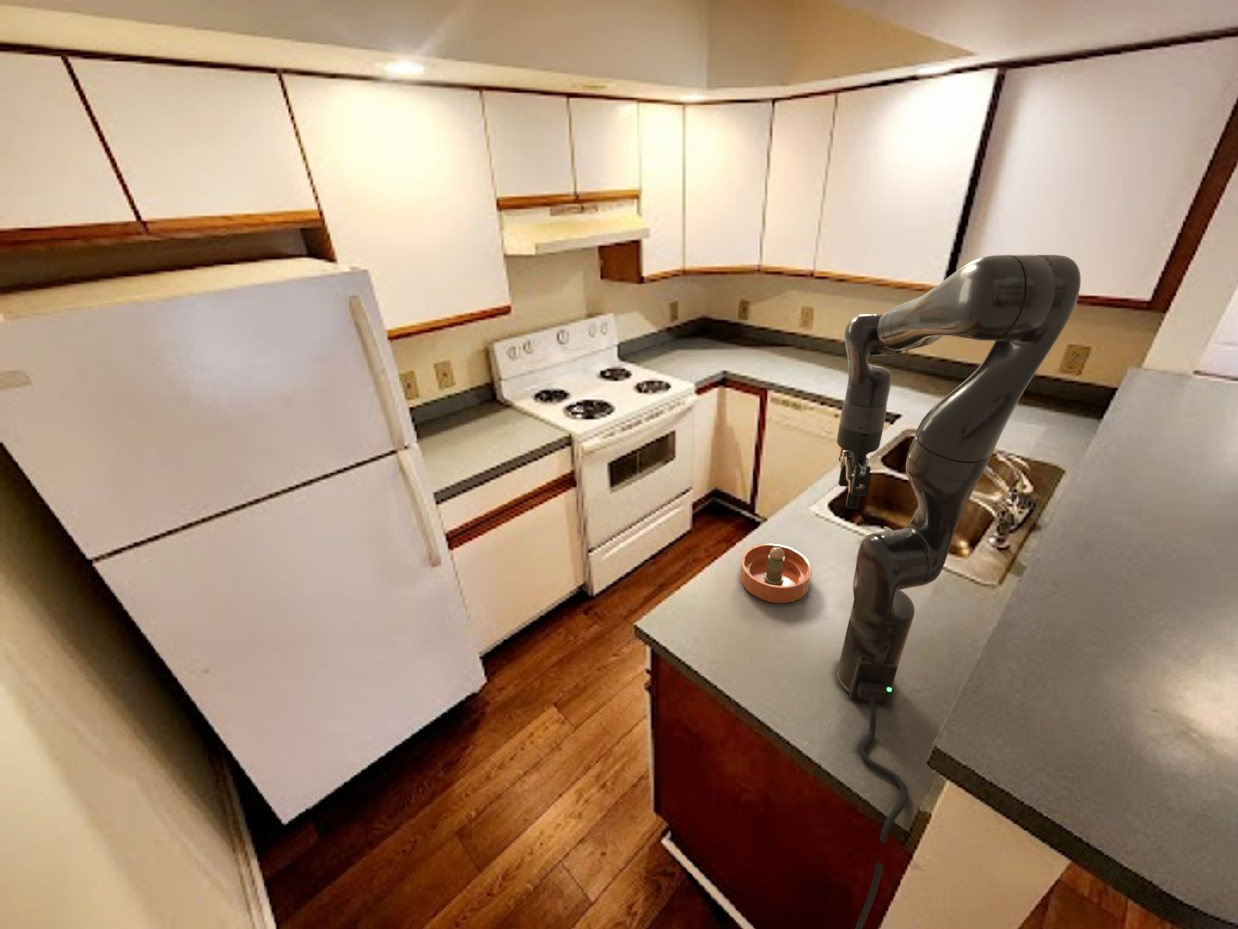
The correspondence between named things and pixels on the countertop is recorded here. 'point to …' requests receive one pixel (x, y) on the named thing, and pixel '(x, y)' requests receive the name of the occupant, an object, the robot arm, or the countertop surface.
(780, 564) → the peg doll
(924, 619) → the countertop surface
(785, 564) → the bowl
